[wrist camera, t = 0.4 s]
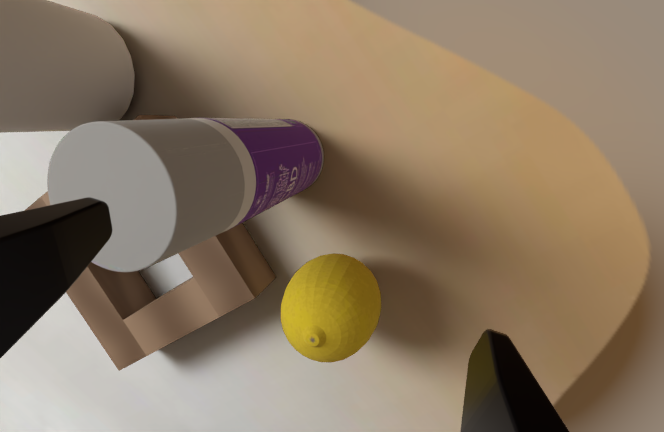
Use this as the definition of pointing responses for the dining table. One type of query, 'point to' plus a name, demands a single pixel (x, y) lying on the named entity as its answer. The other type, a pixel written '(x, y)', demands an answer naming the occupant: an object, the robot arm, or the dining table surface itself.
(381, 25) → the dining table surface
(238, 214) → the container
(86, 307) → the frame
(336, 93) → the dining table surface
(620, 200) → the dining table surface
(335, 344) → the lemon
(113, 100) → the can
